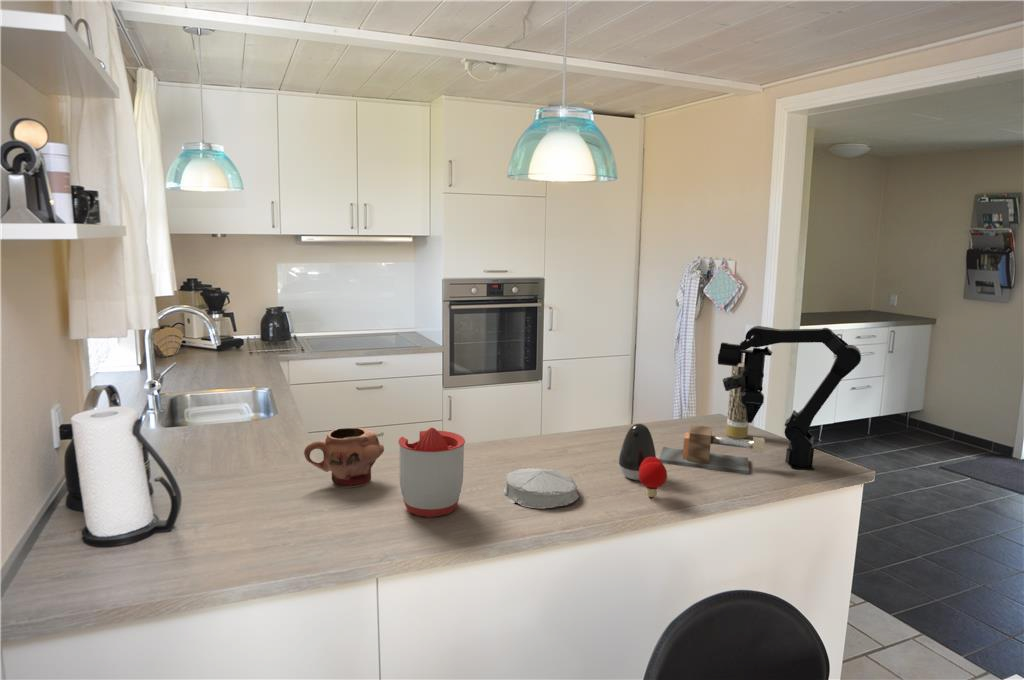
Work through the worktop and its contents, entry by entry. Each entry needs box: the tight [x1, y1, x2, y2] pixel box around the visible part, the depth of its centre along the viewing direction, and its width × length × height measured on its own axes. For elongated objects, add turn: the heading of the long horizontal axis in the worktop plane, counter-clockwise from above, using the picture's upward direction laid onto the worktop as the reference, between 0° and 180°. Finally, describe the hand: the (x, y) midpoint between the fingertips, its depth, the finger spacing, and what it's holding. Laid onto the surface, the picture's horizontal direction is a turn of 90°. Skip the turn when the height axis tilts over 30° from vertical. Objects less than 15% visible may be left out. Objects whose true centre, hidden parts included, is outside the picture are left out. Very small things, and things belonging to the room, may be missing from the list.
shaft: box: [711, 435, 766, 455], centre depth 196 cm, size 18×4×4 cm, turn 72°
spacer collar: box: [682, 432, 690, 459], centre depth 200 cm, size 1×6×6 cm, turn 162°
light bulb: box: [638, 456, 668, 499], centre depth 170 cm, size 9×7×10 cm
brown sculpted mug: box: [303, 427, 385, 488], centre depth 172 cm, size 20×12×14 cm, turn 115°
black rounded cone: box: [618, 423, 657, 481], centre depth 183 cm, size 10×10×15 cm
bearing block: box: [658, 424, 750, 475], centre depth 198 cm, size 25×12×10 cm, turn 72°
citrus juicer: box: [398, 427, 466, 518], centre depth 159 cm, size 16×17×20 cm
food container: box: [502, 467, 580, 510], centre depth 170 cm, size 20×20×7 cm
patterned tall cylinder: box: [725, 361, 750, 439], centre depth 223 cm, size 7×7×25 cm
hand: (749, 418), depth 202 cm, fingers open, 9 cm apart
